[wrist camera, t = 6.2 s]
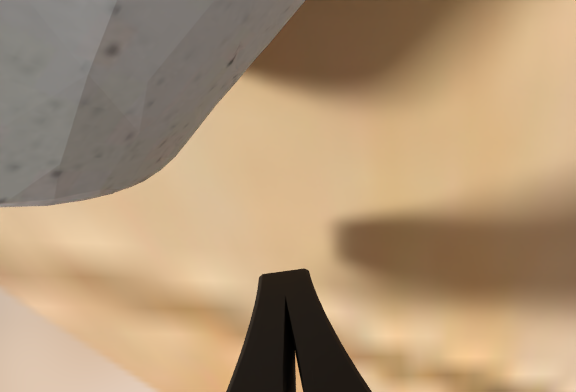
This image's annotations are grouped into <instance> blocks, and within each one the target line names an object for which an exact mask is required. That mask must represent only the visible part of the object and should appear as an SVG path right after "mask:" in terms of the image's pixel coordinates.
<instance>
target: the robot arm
mask: <svg viewBox="0 0 576 392" xmlns="http://www.w3.org/2000/svg"><path fill="white" fill-rule="evenodd" d="M295 353H296V358H297V363H298V368H299V373H300V378H301V383H302V388H303V392H372V391H371V390H370V388H369V387H368V385H367V384H366V382H365V381H364V379H363V378H362V376H361V375H360V373H359V372H358V370H357V369H356V367H355V365H354V364H353V362H352V360H351V359H350V357H349V356H348V354H347V352H346V351H345V349H344V347H343V345H342V344H341V342H340V340H339V338H338V336H337V335H336V333H335V331H334V329H333V327H332V325H331V323H330V322H329V320H328V318H327V316H326V314H325V312H324V310H323V307H322V305H321V303H320V301H319V299H318V296H317V294H316V291H315V289H314V286H313V283H312V280H311V277H310V273H309V271H308V270H306V269H298V270H291V271H283V272H276V273H268V274H262V275H261V276H260V277H259V283H258V290H257V296H256V300H255V305H254V309H253V313H252V317H251V321H250V324H249V328H248V331H247V334H246V338H245V341H244V344H243V347H242V350H241V353H240V356H239V359H238V362H237V364H236V367H235V370H234V373H233V376H232V378H231V381H230V384H229V386H228V389H227V391H226V392H296V375H295Z"/></svg>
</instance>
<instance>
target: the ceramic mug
mask: <svg viewBox="0 0 576 392" xmlns="http://www.w3.org/2000/svg"><path fill="white" fill-rule="evenodd" d="M304 1H305V0H0V207H22V206H48V205H55V204H61V203H68V202H75V201H81V200H87V199H91V198H96V197H100V196H104V195H108V194H112V193H114V192H117V191H120V190H123V189H126V188H129V187H132V186H134V185H136V184H138V183H141V182H143V181H145V180H146V179H148V178H149V177H151V176H152V175H154V174H155V173H157V172H158V171H160V170H161V169H162V168H163V167H164V166H165V165H167V164H168V163H169V162H170V161H171V160H172V159H173V158H174V157H175V156H176V155H177V154H178V152H179V151H180V150H181V149H182V148H183V146H184V145H185V144H186V143H187V141H188V140H189V139H190V138H191V136H192V135H193V134H194V133H195V131H196V130H197V129H198V127H199V126H200V125H201V124H202V122H203V121H204V120H205V118H206V117H207V116H208V115H209V113H210V112H211V111H212V109H213V108H214V107H215V106H216V104H217V103H218V102H219V101H220V100H221V99H222V98H223V96H224V95H225V94H226V93H227V92H228V91H229V90H230V89H231V87H232V86H233V85H234V84H235V83H236V82H237V80H238V79H239V78H240V77H241V76H242V74H243V73H244V72H245V71H246V70H247V68H248V67H249V66H250V65H251V64H252V62H253V61H254V60H255V59H256V58H257V57H258V56H259V54H260V53H261V52H262V51H263V50H264V49H265V48H266V47H267V46H268V45H269V43H270V42H271V41H272V40H273V39H274V37H275V36H276V35H277V34H278V33H279V31H280V30H281V29H282V28H283V27H284V25H285V24H286V23H287V22H288V21H289V19H290V18H291V17H292V16H293V15H294V13H295V12H296V11H297V10H298V9H299V7H300V6H301V5H302V4H303V3H304Z"/></svg>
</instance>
